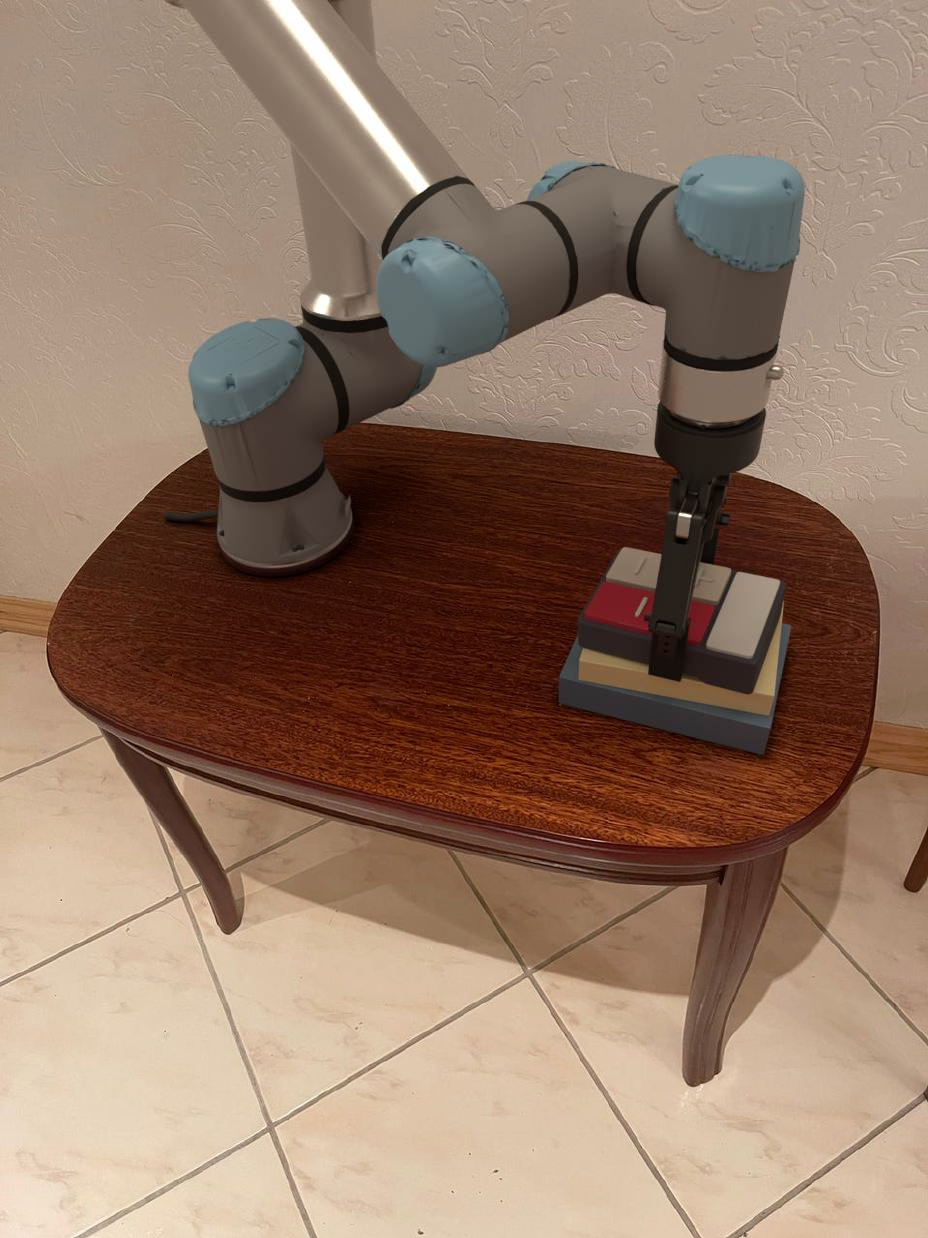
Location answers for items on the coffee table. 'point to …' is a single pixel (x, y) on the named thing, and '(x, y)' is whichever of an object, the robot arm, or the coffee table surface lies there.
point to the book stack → (676, 696)
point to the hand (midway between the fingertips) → (680, 628)
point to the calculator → (720, 617)
